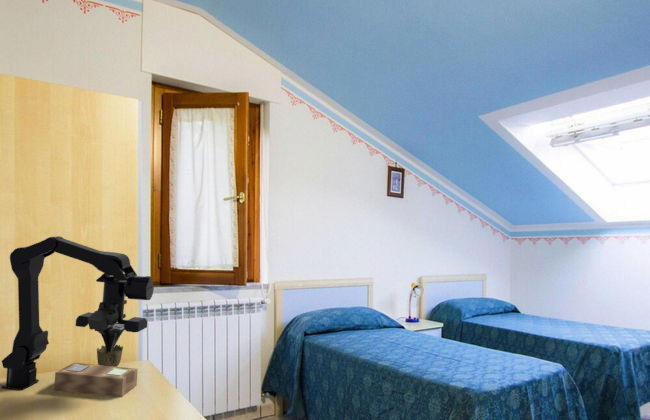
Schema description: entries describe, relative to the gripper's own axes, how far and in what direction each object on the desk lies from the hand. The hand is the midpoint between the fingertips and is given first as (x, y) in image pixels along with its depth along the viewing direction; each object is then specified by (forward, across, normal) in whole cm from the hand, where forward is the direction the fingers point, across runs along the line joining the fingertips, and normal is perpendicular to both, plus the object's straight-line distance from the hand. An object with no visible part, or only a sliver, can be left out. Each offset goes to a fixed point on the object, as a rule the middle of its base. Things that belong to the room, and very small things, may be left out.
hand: (109, 351), depth 126 cm
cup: (+11, -6, +11) cm, 17 cm away
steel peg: (+11, -9, 0) cm, 14 cm away
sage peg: (+10, +3, 0) cm, 11 cm away
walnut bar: (+11, -3, 0) cm, 11 cm away
